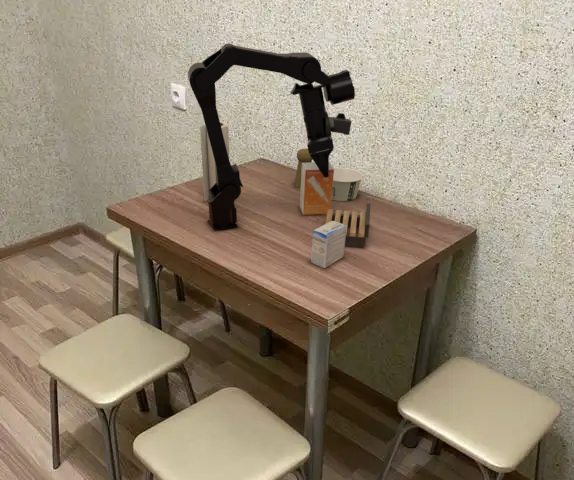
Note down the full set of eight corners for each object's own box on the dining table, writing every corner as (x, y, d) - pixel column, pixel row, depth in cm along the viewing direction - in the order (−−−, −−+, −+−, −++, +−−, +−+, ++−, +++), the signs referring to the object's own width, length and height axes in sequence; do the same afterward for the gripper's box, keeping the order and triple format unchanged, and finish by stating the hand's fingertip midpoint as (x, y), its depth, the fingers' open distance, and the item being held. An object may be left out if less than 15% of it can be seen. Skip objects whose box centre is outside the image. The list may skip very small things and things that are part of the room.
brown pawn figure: (316, 184, 183) (319, 149, 176) (307, 189, 178) (309, 153, 172) (300, 180, 185) (302, 145, 178) (290, 185, 181) (291, 150, 174)
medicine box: (329, 252, 144) (332, 219, 139) (344, 258, 142) (347, 225, 137) (310, 263, 139) (312, 229, 134) (325, 269, 137) (327, 235, 132)
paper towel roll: (232, 196, 172) (230, 121, 160) (228, 203, 168) (226, 127, 155) (208, 194, 173) (204, 120, 160) (204, 202, 168) (199, 125, 155)
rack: (322, 244, 147) (324, 220, 143) (326, 222, 159) (328, 200, 155) (366, 248, 146) (369, 224, 142) (367, 226, 157) (370, 203, 154)
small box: (302, 215, 162) (305, 169, 154) (299, 206, 167) (301, 161, 159) (331, 214, 163) (334, 169, 155) (326, 206, 168) (330, 161, 160)
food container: (369, 196, 175) (371, 175, 171) (341, 206, 169) (343, 184, 165) (341, 185, 182) (343, 164, 178) (313, 194, 176) (314, 172, 172)
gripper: (348, 106, 133) (359, 174, 140) (344, 98, 149) (354, 159, 156) (301, 118, 134) (314, 184, 142) (302, 108, 151) (314, 168, 158)
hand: (326, 173), depth 149 cm, fingers open, 9 cm apart
